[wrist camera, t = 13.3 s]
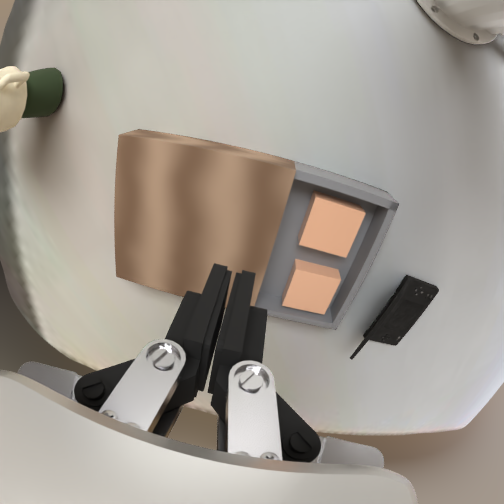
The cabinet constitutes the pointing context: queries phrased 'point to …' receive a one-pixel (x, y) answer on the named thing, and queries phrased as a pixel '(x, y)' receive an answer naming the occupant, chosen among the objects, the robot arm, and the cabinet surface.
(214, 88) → the cabinet surface
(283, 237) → the box
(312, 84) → the cabinet surface
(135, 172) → the board
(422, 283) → the black sloped piece
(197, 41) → the cabinet surface
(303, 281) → the tile
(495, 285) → the cabinet surface
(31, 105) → the character mug
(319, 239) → the tile
